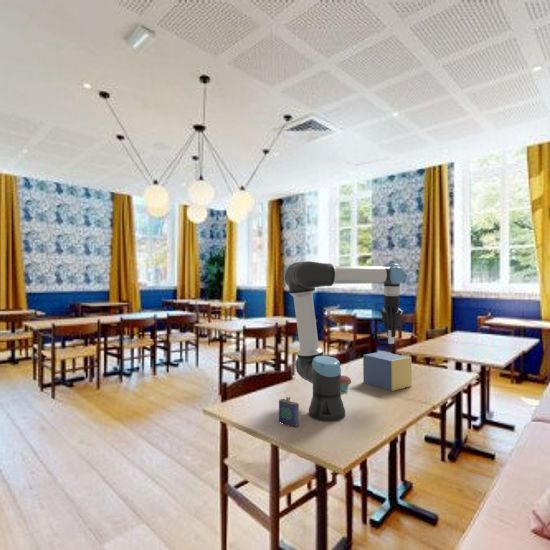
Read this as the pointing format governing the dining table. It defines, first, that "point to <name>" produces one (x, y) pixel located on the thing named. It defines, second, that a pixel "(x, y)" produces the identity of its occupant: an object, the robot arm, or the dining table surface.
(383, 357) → the open box
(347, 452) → the dining table surface
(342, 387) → the cupcake
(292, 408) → the flask
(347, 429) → the dining table surface
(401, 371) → the tan boxy piece
